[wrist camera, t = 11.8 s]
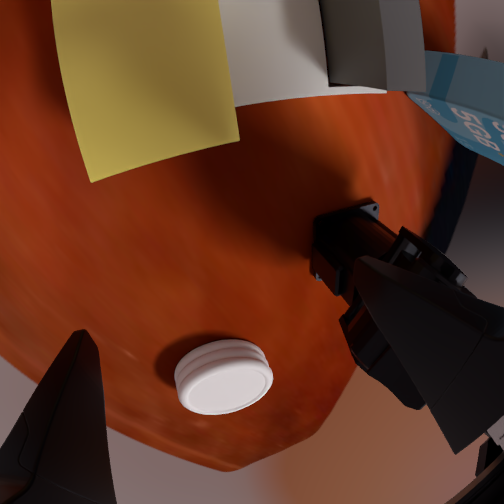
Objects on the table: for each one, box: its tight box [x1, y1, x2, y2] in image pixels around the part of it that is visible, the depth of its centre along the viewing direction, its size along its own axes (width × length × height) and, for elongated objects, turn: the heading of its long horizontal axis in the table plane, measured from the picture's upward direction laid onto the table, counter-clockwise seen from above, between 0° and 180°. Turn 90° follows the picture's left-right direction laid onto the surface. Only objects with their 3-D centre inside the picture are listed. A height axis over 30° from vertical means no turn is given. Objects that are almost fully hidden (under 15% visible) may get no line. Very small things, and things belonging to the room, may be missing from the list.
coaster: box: [174, 339, 273, 415], centre depth 29 cm, size 10×10×4 cm
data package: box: [407, 51, 504, 165], centre depth 17 cm, size 12×4×12 cm, turn 69°
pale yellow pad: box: [51, 0, 240, 183], centre depth 8 cm, size 6×14×4 cm, turn 9°
